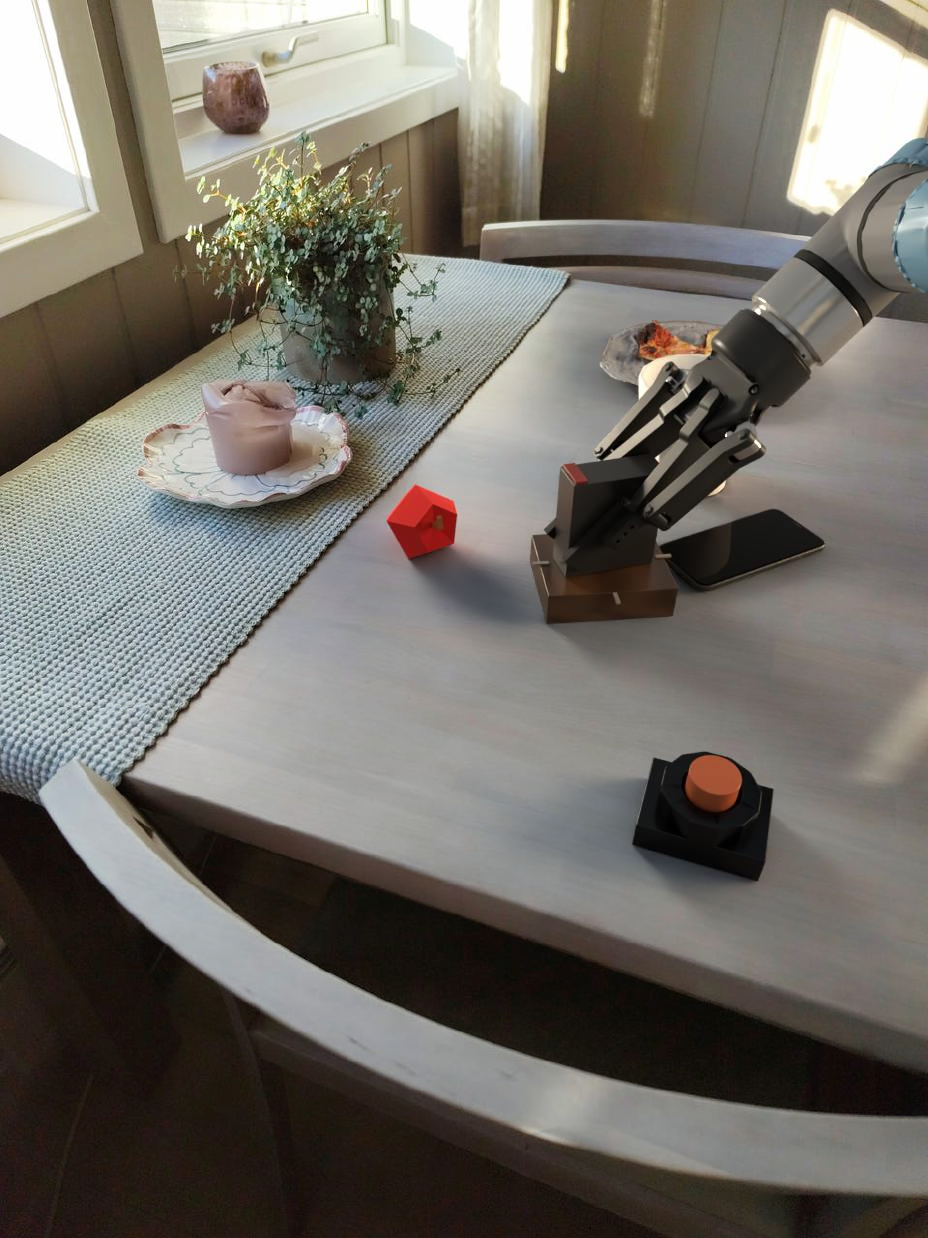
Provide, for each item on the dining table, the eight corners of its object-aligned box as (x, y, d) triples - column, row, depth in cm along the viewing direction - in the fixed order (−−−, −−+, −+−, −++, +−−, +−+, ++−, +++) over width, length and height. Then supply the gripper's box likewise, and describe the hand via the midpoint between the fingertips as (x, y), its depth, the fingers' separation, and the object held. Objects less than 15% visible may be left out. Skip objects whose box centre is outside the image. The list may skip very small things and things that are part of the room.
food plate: (617, 326, 124) (619, 302, 121) (786, 344, 119) (792, 318, 116) (588, 402, 105) (591, 375, 103) (787, 426, 100) (795, 398, 98)
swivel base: (647, 544, 82) (652, 516, 80) (685, 627, 73) (691, 598, 71) (520, 551, 81) (522, 523, 79) (542, 636, 72) (544, 607, 70)
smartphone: (701, 596, 76) (829, 550, 81) (702, 588, 76) (831, 543, 81) (650, 552, 81) (774, 512, 86) (652, 545, 81) (776, 505, 86)
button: (738, 780, 56) (744, 762, 55) (733, 818, 53) (738, 801, 52) (688, 767, 57) (693, 749, 56) (681, 804, 54) (685, 786, 53)
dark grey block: (636, 542, 77) (651, 450, 71) (652, 563, 75) (668, 469, 69) (552, 556, 76) (560, 463, 70) (565, 578, 73) (574, 483, 67)
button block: (766, 808, 59) (780, 770, 56) (758, 882, 54) (772, 844, 52) (648, 777, 61) (657, 738, 58) (631, 846, 56) (639, 807, 54)
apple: (371, 480, 81) (404, 491, 74) (437, 477, 84) (474, 487, 77) (372, 553, 83) (404, 570, 76) (436, 547, 86) (473, 563, 79)
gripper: (867, 413, 62) (630, 631, 70) (747, 327, 74) (555, 520, 82) (823, 352, 58) (574, 592, 65) (702, 270, 70) (503, 481, 77)
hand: (564, 552), depth 73 cm, fingers closed on dark grey block, 3 cm apart
